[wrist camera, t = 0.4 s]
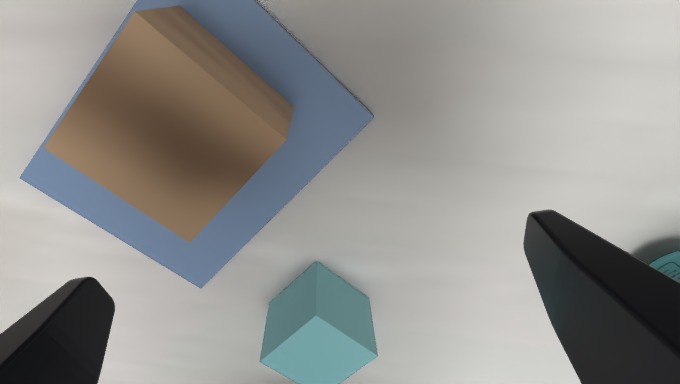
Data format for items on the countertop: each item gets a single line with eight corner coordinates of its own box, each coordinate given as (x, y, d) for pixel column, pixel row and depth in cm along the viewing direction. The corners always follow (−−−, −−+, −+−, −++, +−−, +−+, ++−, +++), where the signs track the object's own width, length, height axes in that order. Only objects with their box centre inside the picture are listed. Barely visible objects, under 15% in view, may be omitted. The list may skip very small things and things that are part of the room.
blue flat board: (203, 282, 27) (200, 288, 26) (26, 173, 22) (19, 178, 22) (372, 114, 22) (373, 117, 21) (186, -66, 18) (182, -68, 17)
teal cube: (321, 335, 30) (321, 396, 25) (269, 301, 28) (259, 361, 23) (368, 297, 28) (377, 356, 24) (317, 259, 26) (316, 315, 22)
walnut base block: (215, 193, 23) (189, 242, 18) (103, 112, 20) (43, 147, 16) (294, 106, 21) (286, 139, 16) (179, 5, 18) (134, 11, 14)
